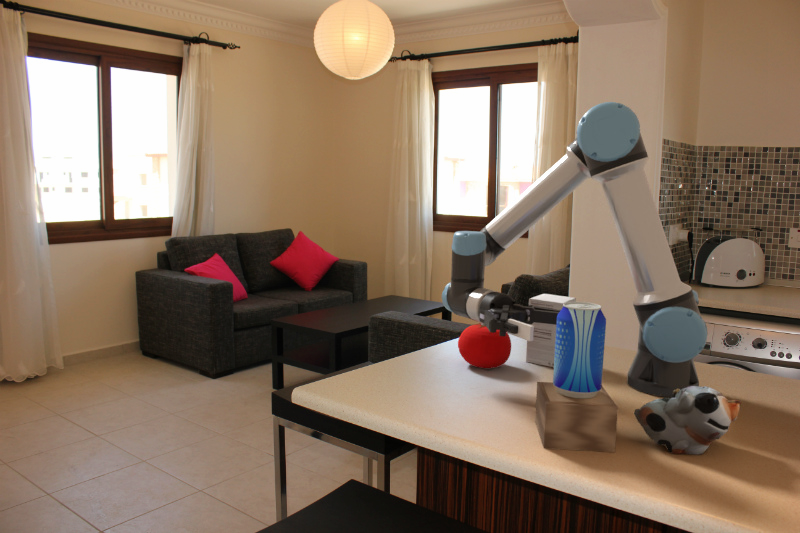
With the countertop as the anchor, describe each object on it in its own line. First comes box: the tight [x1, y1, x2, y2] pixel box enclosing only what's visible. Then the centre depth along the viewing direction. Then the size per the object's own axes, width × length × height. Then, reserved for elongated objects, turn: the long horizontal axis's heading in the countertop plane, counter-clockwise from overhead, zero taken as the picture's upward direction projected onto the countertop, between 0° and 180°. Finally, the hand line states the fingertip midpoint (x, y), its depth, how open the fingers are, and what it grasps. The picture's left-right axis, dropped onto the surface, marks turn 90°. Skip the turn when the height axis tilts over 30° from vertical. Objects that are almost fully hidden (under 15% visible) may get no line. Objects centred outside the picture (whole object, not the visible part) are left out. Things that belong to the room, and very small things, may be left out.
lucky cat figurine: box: [633, 385, 742, 456], centre depth 109 cm, size 15×12×14 cm
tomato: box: [457, 323, 512, 369], centre depth 155 cm, size 12×13×11 cm
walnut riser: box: [534, 381, 619, 453], centre depth 112 cm, size 12×12×8 cm
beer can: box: [552, 301, 607, 399], centre depth 111 cm, size 8×8×16 cm
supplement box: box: [525, 293, 577, 368], centre depth 160 cm, size 10×9×17 cm
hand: (560, 330), depth 114 cm, fingers open, 13 cm apart
